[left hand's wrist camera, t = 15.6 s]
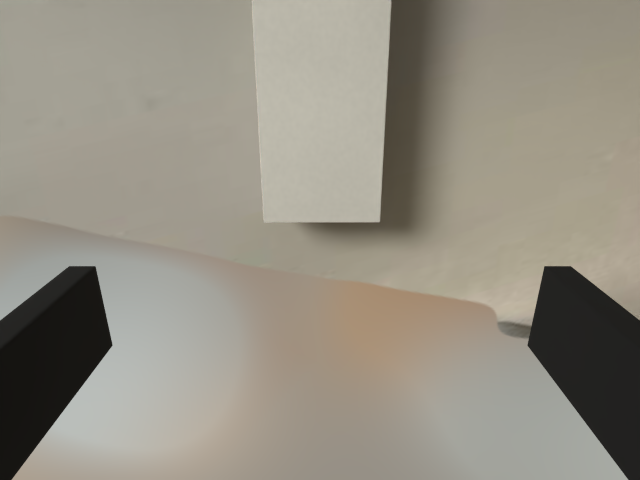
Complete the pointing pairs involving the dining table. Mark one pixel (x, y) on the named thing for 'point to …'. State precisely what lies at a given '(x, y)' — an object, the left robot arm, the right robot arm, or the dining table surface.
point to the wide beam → (321, 107)
